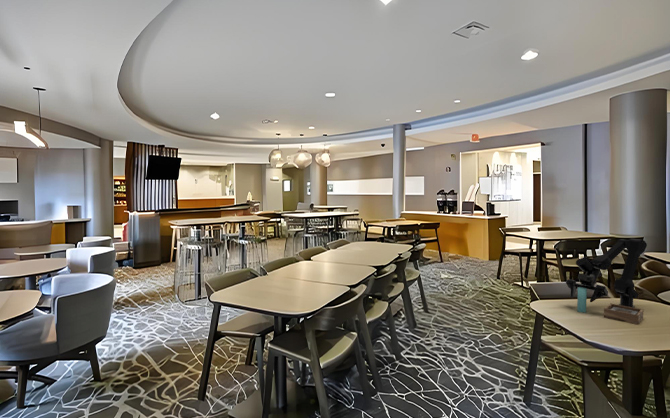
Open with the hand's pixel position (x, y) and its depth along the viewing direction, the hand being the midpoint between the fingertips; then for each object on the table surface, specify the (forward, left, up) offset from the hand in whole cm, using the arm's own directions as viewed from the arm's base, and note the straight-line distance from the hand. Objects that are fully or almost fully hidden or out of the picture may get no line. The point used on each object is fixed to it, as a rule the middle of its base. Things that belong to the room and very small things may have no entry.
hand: (580, 299), depth 189 cm
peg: (-1, 0, -7) cm, 7 cm away
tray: (-6, +17, -7) cm, 20 cm away
